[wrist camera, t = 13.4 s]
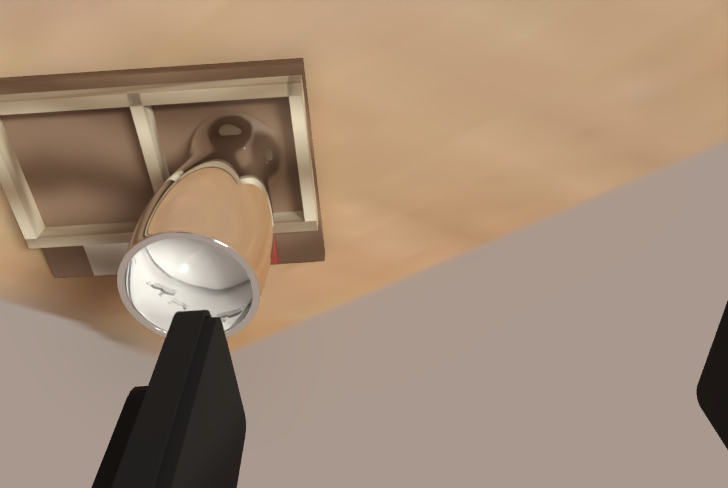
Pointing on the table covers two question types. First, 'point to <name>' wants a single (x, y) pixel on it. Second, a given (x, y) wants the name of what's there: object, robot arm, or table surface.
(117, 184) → the divided sorting tray
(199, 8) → the table surface
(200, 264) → the silver piece
